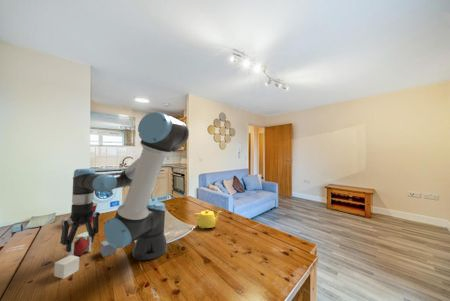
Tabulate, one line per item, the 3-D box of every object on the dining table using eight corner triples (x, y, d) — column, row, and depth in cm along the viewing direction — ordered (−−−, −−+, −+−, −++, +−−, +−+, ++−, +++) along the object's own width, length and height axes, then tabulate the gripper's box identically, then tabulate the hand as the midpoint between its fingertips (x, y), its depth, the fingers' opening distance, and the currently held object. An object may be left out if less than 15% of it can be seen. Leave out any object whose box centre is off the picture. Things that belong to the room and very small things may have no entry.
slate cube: (116, 252, 77) (116, 241, 77) (103, 257, 73) (104, 246, 73) (112, 248, 80) (113, 238, 80) (100, 253, 76) (100, 242, 77)
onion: (77, 259, 71) (79, 240, 71) (67, 257, 72) (68, 239, 72) (91, 252, 76) (92, 234, 77) (81, 250, 78) (82, 233, 78)
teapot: (220, 223, 115) (221, 207, 115) (221, 230, 104) (222, 213, 104) (194, 223, 113) (195, 207, 114) (193, 230, 102) (193, 213, 103)
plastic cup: (86, 219, 115) (87, 201, 116) (100, 220, 114) (102, 202, 115) (70, 225, 105) (72, 206, 105) (86, 226, 103) (87, 207, 104)
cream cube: (78, 270, 65) (79, 257, 65) (63, 279, 60) (64, 265, 60) (69, 267, 66) (70, 254, 66) (53, 276, 61) (54, 262, 61)
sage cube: (93, 242, 86) (93, 232, 86) (85, 247, 81) (85, 236, 81) (83, 241, 86) (84, 232, 86) (75, 246, 81) (75, 236, 81)
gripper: (100, 197, 85) (98, 242, 84) (50, 206, 68) (46, 264, 67) (109, 199, 82) (107, 246, 81) (59, 209, 65) (55, 269, 64)
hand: (79, 254), depth 74 cm, fingers closed on onion, 6 cm apart
